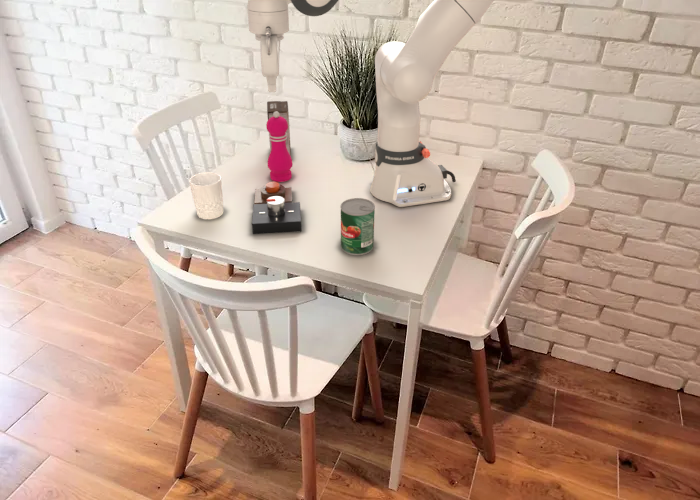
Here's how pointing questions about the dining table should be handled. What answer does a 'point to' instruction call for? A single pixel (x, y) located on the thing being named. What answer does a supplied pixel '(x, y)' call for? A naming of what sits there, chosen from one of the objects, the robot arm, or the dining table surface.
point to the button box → (272, 194)
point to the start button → (272, 187)
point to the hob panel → (276, 219)
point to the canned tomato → (357, 226)
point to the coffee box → (283, 111)
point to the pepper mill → (279, 149)
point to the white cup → (207, 194)
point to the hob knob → (276, 206)
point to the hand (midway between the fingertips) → (272, 85)
